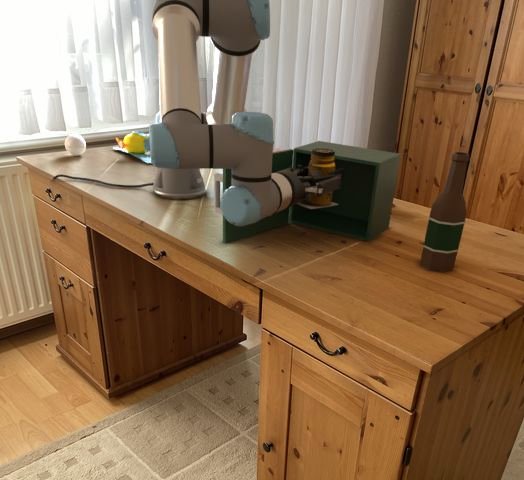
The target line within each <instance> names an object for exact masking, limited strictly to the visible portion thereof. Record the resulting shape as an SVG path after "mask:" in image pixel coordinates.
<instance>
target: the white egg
mask: <svg viewBox="0 0 524 480" xmlns="http://www.w3.org/2000/svg"><path fill="white" fill-rule="evenodd" d="M64 148H65V150H66V152H67V153H68V154H70V155H71V156H74V157H80V156H82V155H83V154H84V153H85V151H86V149H87V144H86V141H85V139H84V138H83V137H82V136H81V135H79V134H76V133H75V134H74V133H73V134H69V135H68V136H67V137H66V138H65V140H64Z"/></svg>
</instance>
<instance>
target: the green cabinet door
mask: <svg viewBox="0 0 524 480" xmlns="http://www.w3.org/2000/svg"><path fill="white" fill-rule="evenodd" d="M293 152H294V149H292V148H289V149H284V150H283V149H282V150H281V151H278V152H273V156H272V172H271V173H275V172H278V171H281V170H284V169H287V168H290V167H293ZM221 183H222V194H223V193H224V191H225V190H226V189H228V188H230V187H231V186H232V169H222V173H220V172H214V173H213V192H214V193H213V194H214V195H213V198H214V199H213V203H214V204H213V206H214V207H213V209H214V210H213V211H214V213H215V214H218V215H220V216H222V243H224V244H227V243H231V242H234V241H236V240H240V239H243V238H246V237H249V236H253V235H255V234H258V233H263V232H266V231H268V230H272V229H275V228H278V227H281V226H284V225H287V224H289V223H290V222H289V213H290V207H289V208H286V209H283V210H281V211H279V212H276V213H274V214H272V215H271V216H267V217H265V218H263V219H261V220H259V221H258V222H256V223H252V224H248V225H245V226H235V225H233V224H231V223H230V222H228V221H227V220H226V218H225V217H224V215H223V213H222V211H221V206H220V201H221Z"/></svg>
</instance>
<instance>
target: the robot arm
mask: <svg viewBox="0 0 524 480" xmlns="http://www.w3.org/2000/svg"><path fill="white" fill-rule="evenodd" d="M270 3H271V2H270V0H155V3H154V6H153V9H152V14H151V15H152V17H151V24H152V25H151V27H152V33H153V36H154V38H155V39H156V41H157V51H158V52H157V53H158V84H159V85H158V87H159V90H158V91H159V111H158V112H157V113H156V115H155V123H152V124H151V125H149V128H148V129H149V131H148V132H149V133H148V134H149V139H150V151H149V153H150V154H149V155H150V156H151V161H152V163H151V164H152V165H153V166H154V167H155V168H157V169H156V173H155V177H154V181H153V182H149V183H143V184H117V183H110V182H106V181H103V180H98V179H94V178H87V177H80V176H71V175H67V174H63V173H62V174H61V173H60V174H56V175H54V176H53V177H52V180H56V179H58V178H65V179H70V180H80V181H87V182H93V183H97V184H101V185H104V186H109V187H115V188H129V189H130V188H131V189H133V188H143V187H149V186H152V189H153V190H152V191H153V194H154V195H155V196H157V197H159V198H162V199H167V200H168V199H169V200H189V199H196V198H200V197H202V196H204V195H205V194H206V185H205V181H204V177H203V175H202V173H201V170H200V169H210V170H211V169H212V170H223V169H232V186H231V187H230V188H228V189H226V190H225V191H224V193H223V192H222V195H221V196H220V206H221V211H222V213H223V215H224V217H225V218H226V220H227V221H228V222H230V223H231V224H233V225H235V226H245V225H248V224H252V223H256V222H258V221H259V220H261V219H263V218H265V217H267V216H271V215H272V214H274V213H276V212H279V211H281V210H283V209H286V208H289V207H291V206H293V205H295V204H296V203H297V202H298V201H299V200H300V198H301V197H302V196H304V195H308V194H310V193H312V192H314V193H315V195H316V196H317V197H322V196H323V195H324V194H326V193H329V192H332V191H334V190H337V189H340V185H341V181H343V180H344V171H345V168H340V169H338V170H335V171H333V172H330V173H329V175H325V176H319V177H311V176H308V168H309V166H307V167H305V168H303V169H302V165H297V169H296V170H294V168H292V167H293V166H292V167H290V168H287V169H284V170H281V171H278V172H275V173H271V172H272V156H273V150H274V145H275V141H274V119H273V118H272V117H271V115H270V114H268V113H264V112H260V111H259V112H258V111H248V110H247V109H246V101H247V93H248V87H249V86H248V85H249V79H250V73H251V72H250V71H251V65H252V56H253V53H255V52H256V51H257V50H258V48H259V47H260V44H261V41H265V40H267V39H269V38H270V37H271V4H270ZM200 37H202V38H203V37H204V38H209V40H210V42H211V44H212V46H213V47H214V48H215V49H214V50H215V51H214V69H213V86H212V87H213V88H212V103H211V104H210V105H209V106H208V107H207V110H206V112H202V108H201V96H200V95H201V94H200V78H199V76H200V75H199V65H198V63H199V62H198V47H197V41H198V40H199V38H200ZM223 215H222V216H223Z"/></svg>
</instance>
